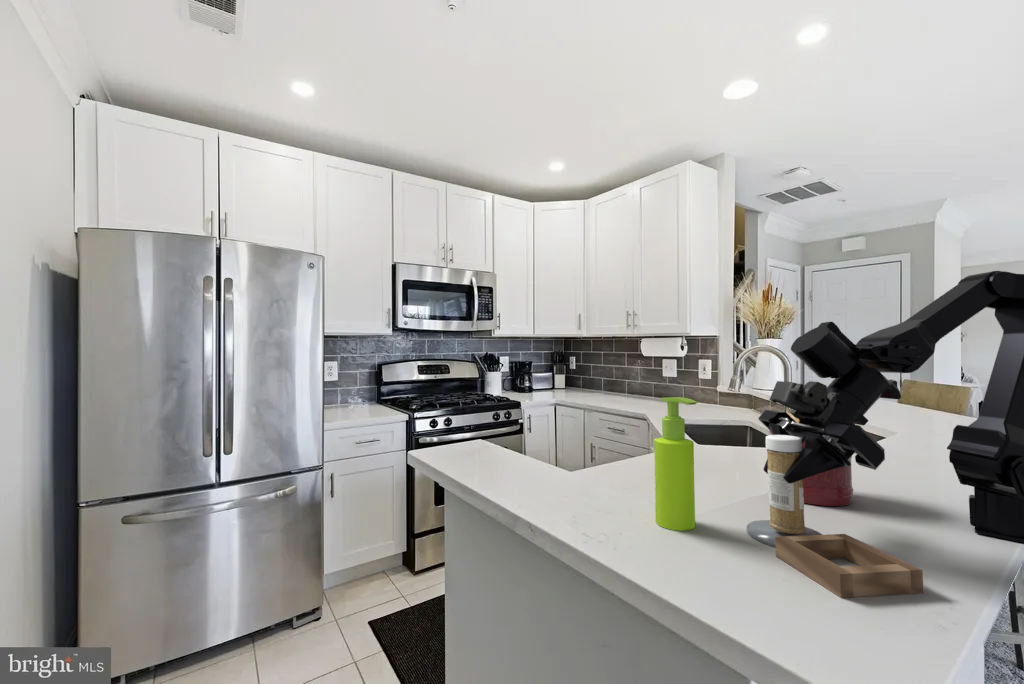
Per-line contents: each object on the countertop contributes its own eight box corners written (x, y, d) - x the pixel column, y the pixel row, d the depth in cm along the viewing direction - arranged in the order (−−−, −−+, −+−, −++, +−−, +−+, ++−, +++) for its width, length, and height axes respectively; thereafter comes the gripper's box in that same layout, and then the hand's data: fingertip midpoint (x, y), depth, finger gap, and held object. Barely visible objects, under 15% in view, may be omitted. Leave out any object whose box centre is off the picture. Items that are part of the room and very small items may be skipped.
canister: (773, 482, 91) (771, 399, 92) (851, 493, 83) (848, 402, 84) (767, 498, 80) (765, 404, 81) (856, 513, 73) (852, 408, 74)
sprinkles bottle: (813, 532, 61) (809, 437, 62) (788, 536, 60) (784, 439, 61) (785, 521, 66) (781, 433, 66) (761, 525, 64) (757, 434, 65)
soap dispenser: (682, 536, 63) (679, 399, 64) (647, 520, 69) (645, 396, 70) (709, 528, 66) (706, 398, 67) (673, 514, 72) (671, 395, 73)
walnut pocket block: (845, 552, 58) (844, 533, 58) (923, 592, 48) (922, 569, 48) (775, 556, 57) (775, 536, 57) (840, 597, 47) (840, 574, 47)
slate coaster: (835, 537, 63) (835, 533, 63) (817, 559, 56) (817, 554, 56) (759, 519, 70) (759, 515, 70) (736, 536, 63) (736, 532, 63)
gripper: (767, 362, 73) (706, 428, 73) (858, 362, 55) (776, 451, 54) (814, 407, 73) (753, 474, 73) (921, 423, 55) (841, 513, 54)
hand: (775, 476), depth 63 cm, fingers closed on sprinkles bottle, 4 cm apart
